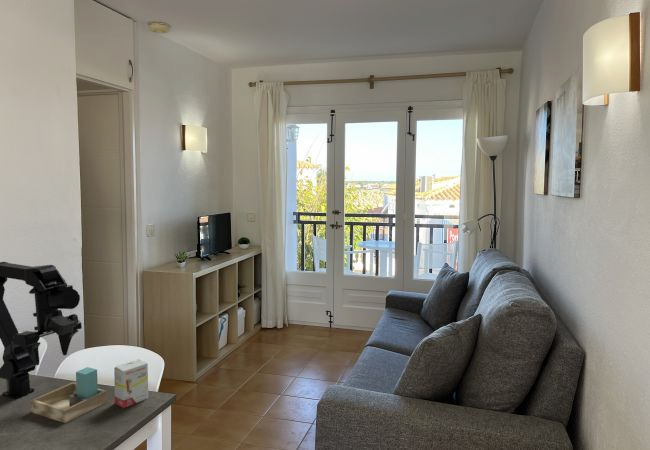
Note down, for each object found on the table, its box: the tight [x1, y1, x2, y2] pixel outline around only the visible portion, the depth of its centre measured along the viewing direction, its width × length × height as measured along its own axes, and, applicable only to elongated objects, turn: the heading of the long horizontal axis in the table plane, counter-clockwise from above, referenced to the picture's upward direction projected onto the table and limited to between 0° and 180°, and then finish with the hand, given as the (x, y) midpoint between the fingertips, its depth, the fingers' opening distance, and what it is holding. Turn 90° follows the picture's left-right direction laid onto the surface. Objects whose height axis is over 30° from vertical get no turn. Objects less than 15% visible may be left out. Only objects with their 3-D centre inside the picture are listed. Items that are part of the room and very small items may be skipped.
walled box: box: [30, 381, 108, 424], centre depth 145 cm, size 14×14×4 cm
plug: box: [75, 366, 99, 399], centre depth 146 cm, size 4×4×10 cm
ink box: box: [113, 359, 149, 409], centre depth 149 cm, size 9×5×12 cm, turn 143°
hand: (51, 360), depth 147 cm, fingers open, 9 cm apart
